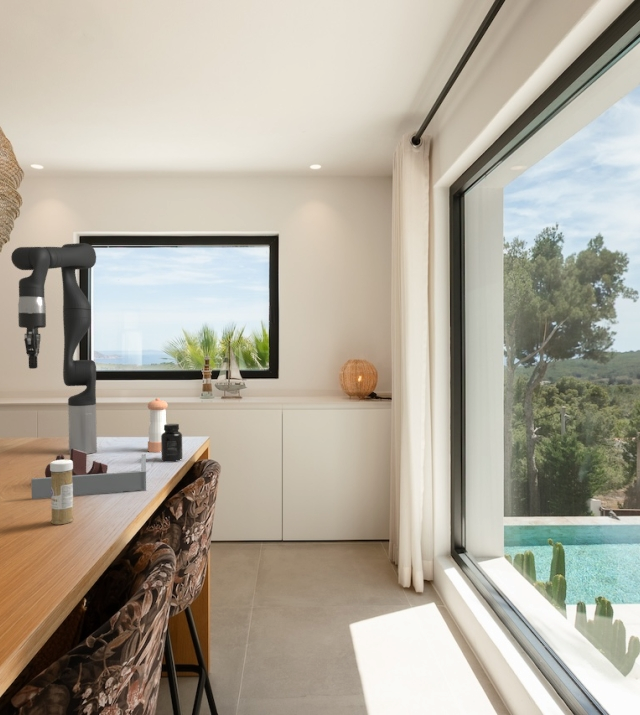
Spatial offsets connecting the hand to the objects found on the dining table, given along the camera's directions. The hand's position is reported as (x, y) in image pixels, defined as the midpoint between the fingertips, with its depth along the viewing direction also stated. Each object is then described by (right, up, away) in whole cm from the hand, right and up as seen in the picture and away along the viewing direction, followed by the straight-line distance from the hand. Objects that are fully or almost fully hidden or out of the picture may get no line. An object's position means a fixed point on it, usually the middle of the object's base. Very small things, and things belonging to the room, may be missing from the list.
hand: (33, 368), depth 176 cm
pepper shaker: (+30, -31, +32) cm, 54 cm away
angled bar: (+25, -32, -16) cm, 44 cm away
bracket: (+21, -32, -16) cm, 42 cm away
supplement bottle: (+39, -31, +15) cm, 52 cm away
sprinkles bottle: (+32, -33, -51) cm, 68 cm away
